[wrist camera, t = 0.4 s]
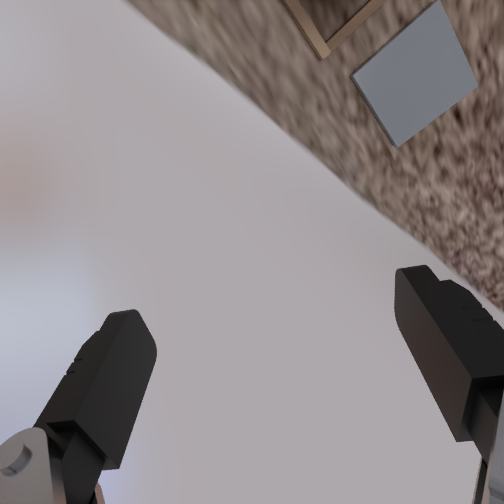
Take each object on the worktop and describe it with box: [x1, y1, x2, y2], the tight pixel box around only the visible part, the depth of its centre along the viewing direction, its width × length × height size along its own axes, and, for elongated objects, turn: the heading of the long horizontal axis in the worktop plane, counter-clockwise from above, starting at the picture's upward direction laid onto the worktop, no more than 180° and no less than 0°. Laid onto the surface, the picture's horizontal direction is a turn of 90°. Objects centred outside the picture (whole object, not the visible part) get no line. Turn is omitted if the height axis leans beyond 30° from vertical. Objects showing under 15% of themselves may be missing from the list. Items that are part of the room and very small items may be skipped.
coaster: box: [350, 0, 479, 148], centre depth 24 cm, size 7×7×1 cm
